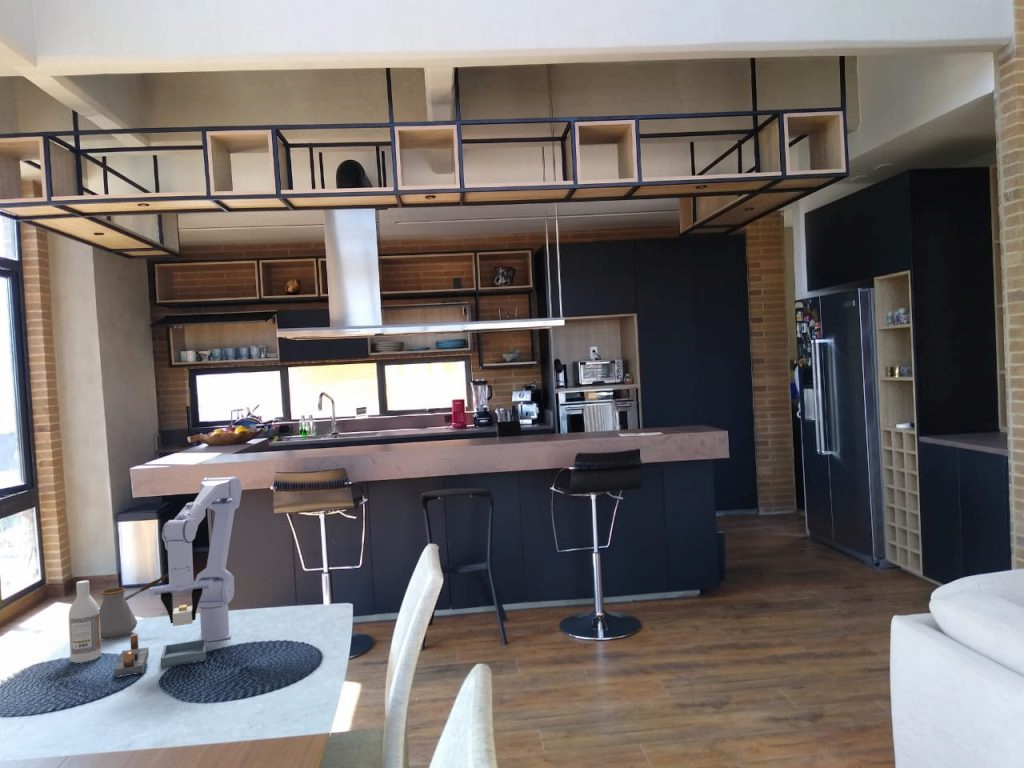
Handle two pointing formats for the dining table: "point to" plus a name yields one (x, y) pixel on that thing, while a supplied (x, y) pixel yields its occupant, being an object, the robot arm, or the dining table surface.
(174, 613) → the white yellow block
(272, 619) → the dining table surface
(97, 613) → the bath foam
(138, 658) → the hand plane
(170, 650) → the tray
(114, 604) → the coffee pot
